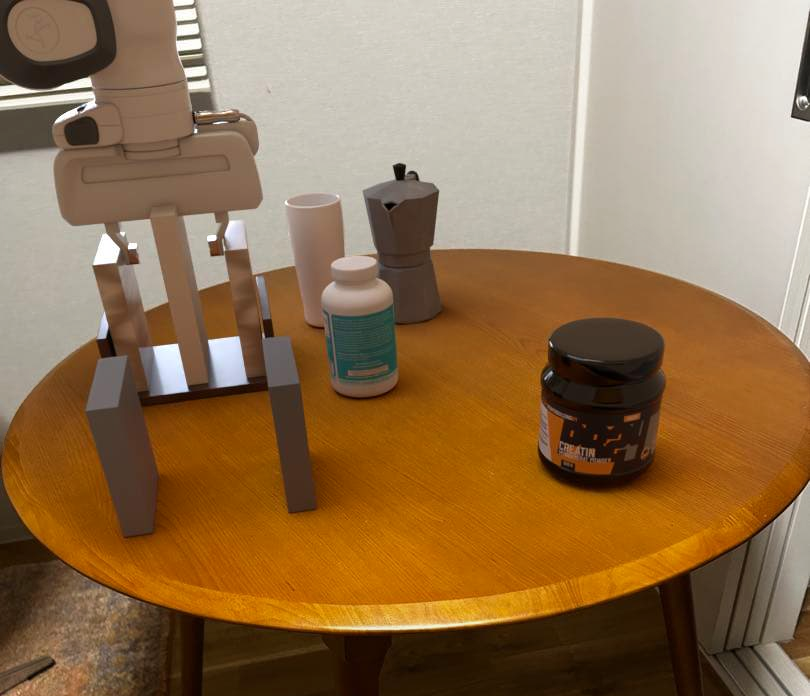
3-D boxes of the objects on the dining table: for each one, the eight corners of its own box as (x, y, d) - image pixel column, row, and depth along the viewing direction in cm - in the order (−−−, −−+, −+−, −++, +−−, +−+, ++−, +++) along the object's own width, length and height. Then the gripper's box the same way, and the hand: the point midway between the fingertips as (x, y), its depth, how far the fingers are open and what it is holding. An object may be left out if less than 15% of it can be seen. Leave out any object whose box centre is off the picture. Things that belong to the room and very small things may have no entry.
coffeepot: (433, 332, 104) (428, 177, 93) (359, 329, 105) (346, 177, 95) (453, 288, 116) (450, 146, 105) (386, 286, 118) (377, 147, 107)
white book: (187, 385, 93) (149, 216, 82) (188, 346, 101) (154, 189, 91) (209, 383, 93) (174, 214, 82) (208, 344, 102) (177, 187, 91)
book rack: (115, 409, 91) (76, 271, 82) (125, 357, 102) (92, 231, 93) (282, 388, 93) (261, 251, 84) (273, 339, 104) (255, 214, 95)
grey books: (123, 537, 71) (84, 410, 64) (131, 477, 79) (98, 358, 72) (317, 509, 73) (299, 383, 66) (306, 452, 81) (289, 334, 74)
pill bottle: (412, 383, 93) (406, 259, 85) (363, 407, 88) (352, 280, 80) (366, 365, 97) (356, 246, 89) (317, 387, 93) (302, 265, 85)
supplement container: (514, 468, 77) (518, 345, 70) (574, 423, 83) (583, 305, 76) (617, 506, 71) (633, 376, 64) (674, 454, 78) (694, 330, 71)
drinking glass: (362, 321, 108) (352, 199, 99) (316, 335, 105) (301, 210, 96) (335, 307, 112) (323, 188, 103) (290, 320, 109) (274, 199, 100)
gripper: (252, 102, 86) (271, 240, 94) (44, 119, 83) (82, 259, 91) (255, 112, 80) (275, 257, 89) (33, 130, 78) (75, 278, 86)
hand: (175, 259), depth 90 cm, fingers open, 7 cm apart
